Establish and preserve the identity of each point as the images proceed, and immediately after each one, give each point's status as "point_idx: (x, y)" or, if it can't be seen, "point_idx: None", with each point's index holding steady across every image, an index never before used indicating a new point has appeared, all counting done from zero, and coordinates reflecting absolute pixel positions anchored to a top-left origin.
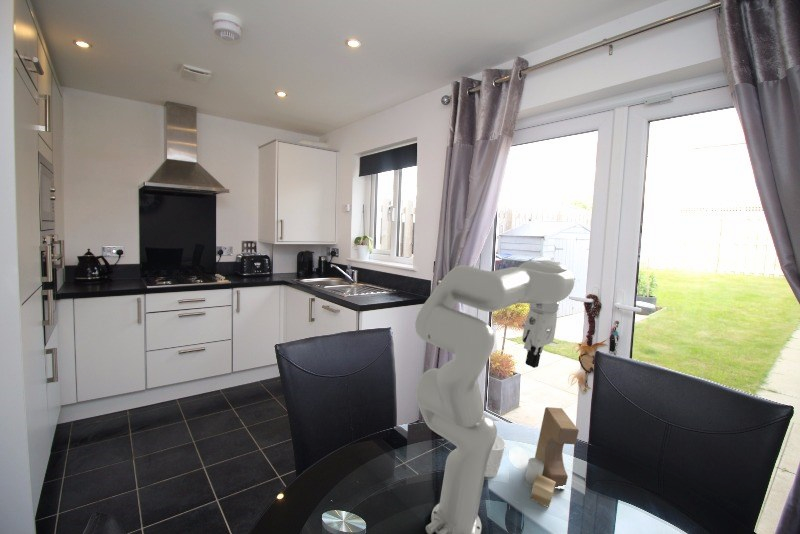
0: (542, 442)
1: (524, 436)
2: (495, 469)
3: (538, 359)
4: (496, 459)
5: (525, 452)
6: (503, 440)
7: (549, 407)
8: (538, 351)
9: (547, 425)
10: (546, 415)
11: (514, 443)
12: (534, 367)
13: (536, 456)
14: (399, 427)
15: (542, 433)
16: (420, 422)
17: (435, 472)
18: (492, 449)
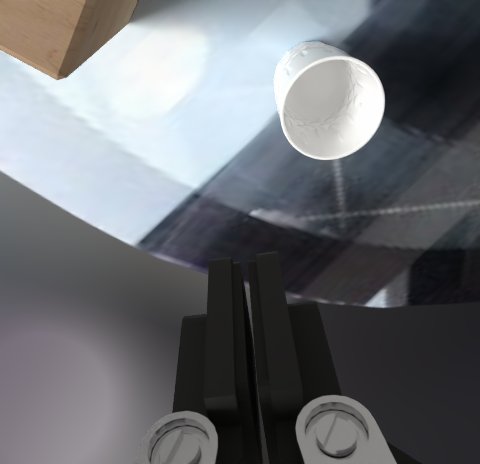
0: (122, 5)
1: (55, 140)
2: (323, 44)
3: (233, 329)
4: (341, 51)
5: (115, 78)
6: (287, 91)
7: (40, 64)
8: (223, 461)
9: (107, 4)
10: (85, 43)
11: (120, 128)
12: (277, 256)
13: (127, 17)
14: (391, 304)
15: (109, 26)
16: (327, 302)
17: (450, 138)
18: (373, 71)
